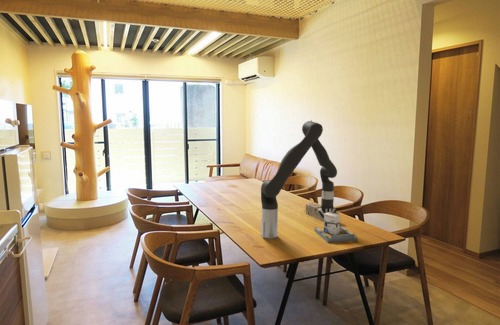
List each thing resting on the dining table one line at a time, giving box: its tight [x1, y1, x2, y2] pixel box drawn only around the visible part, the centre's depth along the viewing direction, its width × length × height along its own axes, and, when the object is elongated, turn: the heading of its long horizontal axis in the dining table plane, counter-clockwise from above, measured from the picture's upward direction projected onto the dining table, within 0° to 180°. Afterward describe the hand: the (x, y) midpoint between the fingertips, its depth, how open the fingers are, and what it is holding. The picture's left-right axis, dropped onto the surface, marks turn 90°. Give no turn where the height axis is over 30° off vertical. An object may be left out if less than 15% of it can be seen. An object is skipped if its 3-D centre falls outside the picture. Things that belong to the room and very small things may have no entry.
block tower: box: [305, 202, 340, 223], centre depth 236 cm, size 8×8×29 cm
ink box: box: [323, 212, 341, 235], centre depth 204 cm, size 8×5×12 cm, turn 45°
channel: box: [313, 225, 359, 243], centre depth 199 cm, size 18×21×4 cm
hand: (326, 224), depth 213 cm, fingers closed
